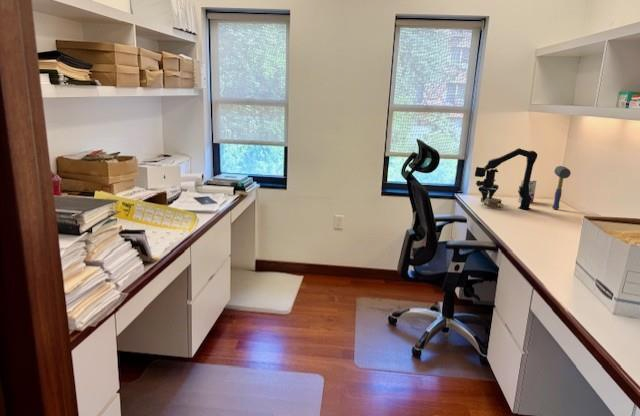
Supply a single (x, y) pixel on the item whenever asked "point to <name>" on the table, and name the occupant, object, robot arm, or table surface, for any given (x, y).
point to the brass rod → (488, 201)
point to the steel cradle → (488, 199)
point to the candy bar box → (530, 189)
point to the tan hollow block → (494, 203)
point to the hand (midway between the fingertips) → (486, 199)
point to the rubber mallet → (560, 184)
